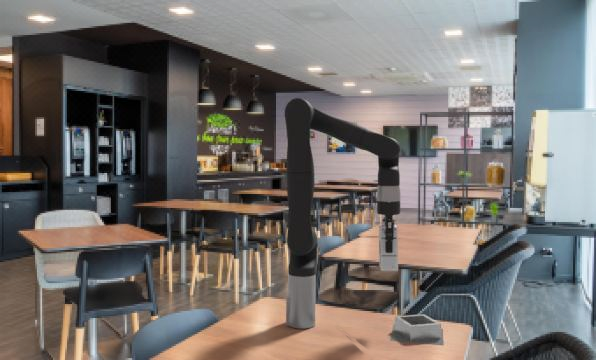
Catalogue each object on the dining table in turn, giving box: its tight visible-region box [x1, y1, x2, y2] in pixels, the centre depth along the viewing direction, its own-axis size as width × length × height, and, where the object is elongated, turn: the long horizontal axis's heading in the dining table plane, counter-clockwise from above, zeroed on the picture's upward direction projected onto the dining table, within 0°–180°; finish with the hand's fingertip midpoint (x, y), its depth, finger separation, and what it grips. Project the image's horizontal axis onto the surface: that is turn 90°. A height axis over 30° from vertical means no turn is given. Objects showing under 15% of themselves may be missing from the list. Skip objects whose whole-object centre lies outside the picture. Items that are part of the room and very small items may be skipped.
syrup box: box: [378, 224, 399, 272], centre depth 172 cm, size 6×6×14 cm
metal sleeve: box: [394, 313, 442, 341], centre depth 164 cm, size 10×10×4 cm
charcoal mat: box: [389, 324, 445, 346], centre depth 165 cm, size 16×16×1 cm
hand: (388, 250), depth 172 cm, fingers closed on syrup box, 6 cm apart
